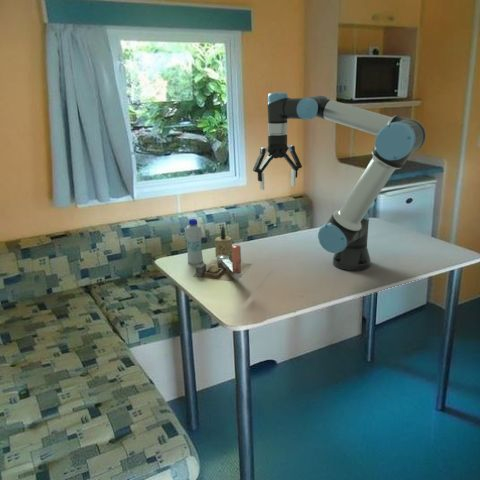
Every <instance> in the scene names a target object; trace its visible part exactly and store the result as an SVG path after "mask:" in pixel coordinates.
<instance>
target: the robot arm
mask: <svg viewBox="0 0 480 480" xmlns="http://www.w3.org/2000/svg"><path fill="white" fill-rule="evenodd" d="M314 118H320V119H323V120H326V121H330V122H332V123H336V124H339V125H342V126H346V127H348V128H352V129H355V130H358V131H361V132H365V133H368V134H371V135H373V136H376V137H375V140H374V147H373V148H372V149H371V155H372V158H371V159H370V160H369V163H368V164H367V167H366V168H365V169H364V170H363V172H362V174H361V175H360V177H359V179H358V181H357V182H356V183H355V186H354V187H353V188H352V190H351V191H350V193H349V195H348V196H347V198H346V200H345V202H343V204H342V206H341V207H340V209H336V210H334V212H333V213H332V214H331V216H330V218H329V219H328V221H327V223H324V224H323V225H322V226H321V227H320V228H319V229H318V233H317V239H318V241H319V244H320V246H321V248H323V250H325V251H327V252H328V253H330V254H334V255H333V257H332V265H333V266H334V267H336V268H337V267H338V269H340V268H341V269H340V270H343V269H346V270H345V271H350V270H358V271H363V270H362V269H364V270H367V269H369V268H370V267H371V261H372V260H371V256H370V253H369V249H368V236H369V235H368V234H369V223H370V222H369V221H370V217H369V213H368V212H369V210H370V208H371V207H372V205H373V203H374V202H375V201H376V199H377V197H378V196H379V194H380V193H381V191H382V189H383V188H384V187H385V185H386V184H387V182H388V181H389V179H390V177H392V175H393V173H394V172H395V171H396V170H400V169H402V168H403V167H404V165H405V164H406V162H407V161H408V159H409V158H410V156H411V155H412V154H414V153H415V152H417V151H419V150H420V149H421V148H422V147H423V146H424V144H425V142H426V140H427V130H426V128H425V126H424V125H423V123H421V122H420V121H418V120H417V119H413V118H408V117H403V116H400V115H393V116H388V115H385V114H383V113H382V114H381V113H378V112H374V111H371V110H367V109H364V108H361V107H357V106H354V105H350V104H347V103H343V102H340V101H337V100H332V99H330V98H328V97H327V96H325V95H315V96H308V97H293V98H292V97H291V98H290V97H289V96H288V93H287V92H270V93H268V95H267V133H268V135H267V145H268V146H267V147H262V146H261V147H260V149H259V154H258V156H257V159H256V161H255V164H254V166H253V169H252V171H253V172H255V173H257V181H258V182H259V189H260V190H262V191H264V190H265V173H264V171H265V169H266V168H267V167H268V165H269V164H270V163H271V161H272V160H273V159H284V160H285V161H286V162H287V163H288V164H289V166H290V167H291V168H292V169H290V186H291V187H296V178H298V171H299V169H302V168H303V165H302V163H301V161H300V158H299V156H298V154H297V153H296V146H295V145H292V144H290V145H288V134H287V133H288V120H289V119H292V120H293V119H294V120H303V121H307V120H314ZM288 151H289V153H290V155H291V157H292V159H293V160H292V159H291V157H290V156H289V154H288V153H287V152H288ZM267 152H268V154H267ZM266 154H267V156H266ZM265 156H266V158H265ZM264 158H265V159H264ZM369 266H370V267H369ZM368 267H369V268H368ZM366 268H367V269H366Z"/></svg>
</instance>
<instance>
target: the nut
mask: <svg viewBox="0 0 480 480" xmlns="http://www.w3.org/2000/svg"><path fill="white" fill-rule="evenodd" d="M218 271H219V268H218V266H217V265H215V264H212V265H210V266H209V272H210V273H218Z"/></svg>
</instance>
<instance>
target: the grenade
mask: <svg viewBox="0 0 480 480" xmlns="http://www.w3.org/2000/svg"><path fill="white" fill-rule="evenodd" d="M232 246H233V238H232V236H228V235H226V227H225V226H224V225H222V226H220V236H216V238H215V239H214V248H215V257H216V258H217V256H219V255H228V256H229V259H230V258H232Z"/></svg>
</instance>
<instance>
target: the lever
mask: <svg viewBox="0 0 480 480" xmlns="http://www.w3.org/2000/svg"><path fill="white" fill-rule="evenodd" d="M241 252H242V251H241V245H238V244H235V245H232V257H231V260H230V258H229V256H228V255H219V256H217V257H216V260H217V263H219V264H222V265H223V266H224V267H225V269H226V270H227V271H228V272H229V273H230V274H231V275H232V276H233V278H234V279H235V278H239V279H240V278H243V277H242V276H243V275H242V276H241V263H242V257H241V256H242V255H241V254H242V253H241Z"/></svg>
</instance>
